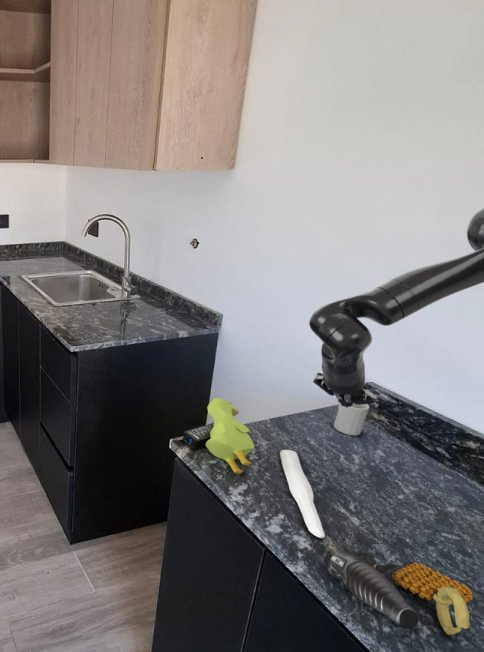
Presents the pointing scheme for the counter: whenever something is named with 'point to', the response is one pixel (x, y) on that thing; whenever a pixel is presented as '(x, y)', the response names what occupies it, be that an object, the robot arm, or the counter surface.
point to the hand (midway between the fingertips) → (346, 403)
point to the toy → (228, 434)
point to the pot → (351, 418)
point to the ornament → (437, 593)
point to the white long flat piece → (301, 491)
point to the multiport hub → (198, 436)
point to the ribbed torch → (372, 585)
